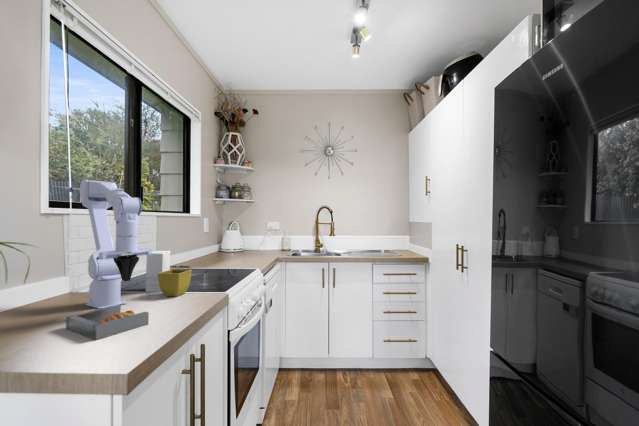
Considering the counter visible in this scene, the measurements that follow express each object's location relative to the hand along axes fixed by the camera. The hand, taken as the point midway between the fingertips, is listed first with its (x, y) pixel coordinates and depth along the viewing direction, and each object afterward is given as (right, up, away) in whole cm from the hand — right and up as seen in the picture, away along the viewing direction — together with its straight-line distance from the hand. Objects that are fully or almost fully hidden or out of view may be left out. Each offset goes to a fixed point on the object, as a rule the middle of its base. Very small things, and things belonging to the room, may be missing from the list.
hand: (126, 280), depth 94 cm
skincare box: (-6, -11, +30) cm, 33 cm away
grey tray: (+3, -10, -11) cm, 15 cm away
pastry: (+5, -10, -12) cm, 16 cm away
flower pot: (+4, -11, +22) cm, 25 cm away
